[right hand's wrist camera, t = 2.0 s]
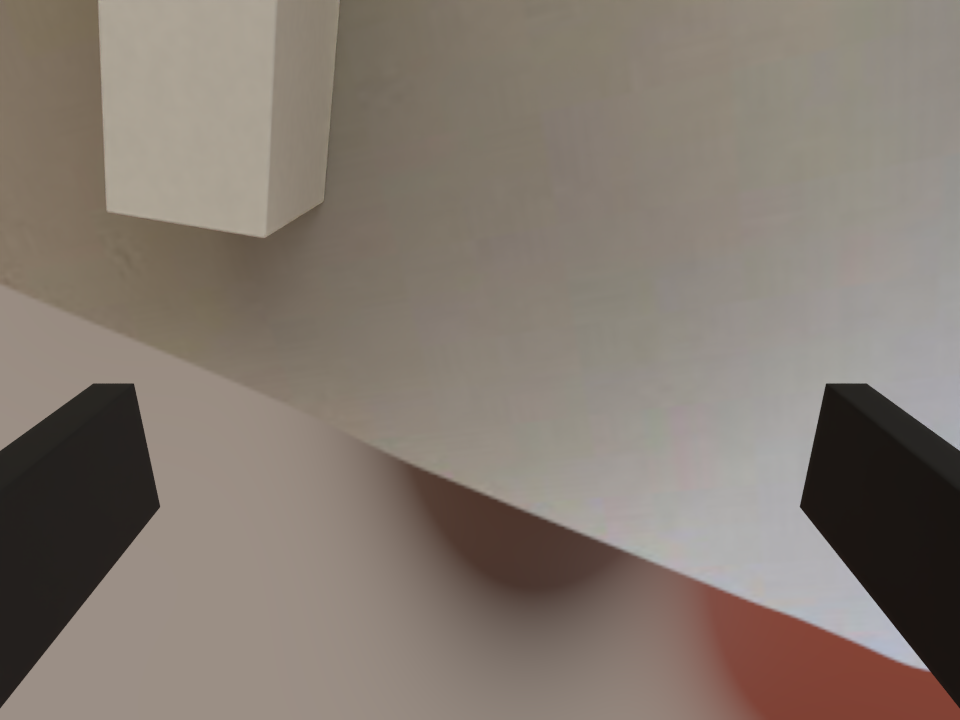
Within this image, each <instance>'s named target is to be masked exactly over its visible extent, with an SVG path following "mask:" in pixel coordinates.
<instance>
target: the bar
mask: <svg viewBox="0 0 960 720" xmlns="http://www.w3.org/2000/svg"><path fill="white" fill-rule="evenodd" d="M339 7H340V0H98V19H99V44H100V69H101V94H102V119H103V144H104V168H105V193H106V211H107V212H109V213H113V214H119V215H125V216H131V217H137V218H143V219H149V220H155V221H161V222H167V223H173V224H179V225H185V226H191V227H197V228H204V229H210V230H216V231H222V232H228V233H234V234H240V235H246V236H252V237H258V238H266V237H268V236H269V235H271V234H272V233H274V232H276V231H277V230H279V229H280V228H282V227H284V226H285V225H287V224H288V223H290V222H292V221H293V220H295V219H297V218H298V217H300V216H301V215H303V214H305V213H306V212H308V211H309V210H311V209H313V208H314V207H316V206H317V205H319V204H321V203H322V202H323V201H324V194H325V181H326V169H327V156H328V144H329V132H330V119H331V107H332V94H333V82H334V69H335V57H336V44H337V32H338V19H339Z"/></svg>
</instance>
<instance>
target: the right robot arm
mask: <svg viewBox="0 0 960 720" xmlns="http://www.w3.org/2000/svg"><path fill="white" fill-rule="evenodd" d="M159 508H160V504H159V500H158V495H157V490H156V485H155V481H154V476H153V471H152V466H151V462H150V457H149V452H148V448H147V443H146V438H145V434H144V429H143V424H142V419H141V415H140V410H139V405H138V401H137V396H136V391H135V387H134V384H92V385H91V386H90V387H88V388H87V389H85V390H84V391H83V392H81V393H80V394H78V395H77V396H76V397H74V398H73V399H72V400H70V401H69V402H67V403H66V404H65V405H63V406H62V407H60V408H59V409H58V410H56V411H55V412H54V413H52V414H51V415H49V416H48V417H47V418H45V419H44V420H42V421H41V422H40V423H38V424H37V425H36V426H34V427H33V428H31V429H30V430H29V431H27V432H26V433H25V434H23V435H22V436H20V437H19V438H18V439H16V440H15V441H13V442H12V443H11V444H9V445H8V446H7V447H5V448H4V449H2V450H1V451H0V708H1V707H2V705H3V704H4V703H5V702H6V700H7V699H8V698H9V697H10V695H11V694H12V693H13V691H14V690H15V689H16V688H17V686H18V685H19V684H20V683H21V681H22V680H23V679H24V678H25V676H26V675H27V674H28V673H29V671H30V670H31V669H32V668H33V666H34V665H35V664H36V663H37V661H38V660H39V659H40V657H41V656H42V655H43V654H44V652H45V651H46V650H47V649H48V647H49V646H50V645H51V644H52V642H53V641H54V640H55V639H56V637H57V636H58V635H59V634H60V632H61V631H62V630H63V629H64V627H65V626H66V625H67V623H68V622H69V621H70V620H71V618H72V617H73V616H74V615H75V613H76V612H77V611H78V610H79V608H80V607H81V606H82V605H83V603H84V602H85V601H86V600H87V598H88V597H89V596H90V595H91V593H92V592H93V591H94V589H95V588H96V587H97V586H98V584H99V583H100V582H101V581H102V579H103V578H104V577H105V576H106V574H107V573H108V572H109V571H110V569H111V568H112V567H113V566H114V564H115V563H116V562H117V561H118V559H119V558H120V557H121V555H122V554H123V553H124V552H125V550H126V549H127V548H128V547H129V545H130V544H131V543H132V542H133V540H134V539H135V538H136V536H137V535H138V534H139V533H140V532H141V530H142V529H143V528H144V526H145V525H146V524H147V523H148V521H149V520H150V519H151V518H152V516H153V515H154V514H155V513H156V511H157V510H158V509H159ZM800 508H801V509H802V510H803V511H804V513H805V514H806V515H807V516H808V518H809V519H810V520H811V521H812V523H813V524H814V525H815V527H816V528H817V529H818V530H819V532H820V533H821V534H822V535H823V537H824V538H825V539H826V540H827V542H828V543H829V544H830V545H831V547H832V548H833V549H834V550H835V552H836V553H837V554H838V555H839V557H840V558H841V559H842V561H843V562H844V563H845V564H846V566H847V567H848V568H849V569H850V571H851V572H852V573H853V574H854V576H855V577H856V578H857V579H858V581H859V582H860V583H861V584H862V586H863V587H864V588H865V589H866V591H867V592H868V593H869V595H870V596H871V597H872V598H873V600H874V601H875V602H876V603H877V605H878V606H879V607H880V608H881V610H882V611H883V612H884V613H885V615H886V616H887V617H888V618H889V620H890V621H891V622H892V623H893V625H894V626H895V627H896V629H897V630H898V631H899V632H900V634H901V635H902V636H903V637H904V639H905V640H906V641H907V642H908V644H909V645H910V646H911V647H912V649H913V650H914V651H915V652H916V654H917V655H918V656H919V657H920V659H921V660H922V661H923V663H924V664H925V665H926V666H927V668H928V669H929V670H930V671H931V673H932V674H933V675H934V676H935V678H936V679H937V680H938V681H939V683H940V684H941V685H942V686H943V688H944V689H945V690H946V691H947V693H948V694H949V695H950V696H951V698H952V699H953V700H954V702H955V703H956V704H957V705H958V707H959V708H960V451H959V450H958V449H956V448H955V447H953V446H952V445H951V444H949V443H948V442H947V441H945V440H944V439H942V438H941V437H940V436H938V435H937V434H935V433H934V432H933V431H931V430H930V429H929V428H927V427H926V426H924V425H923V424H922V423H920V422H919V421H918V420H916V419H915V418H913V417H912V416H911V415H909V414H908V413H906V412H905V411H904V410H902V409H901V408H900V407H898V406H897V405H895V404H894V403H893V402H891V401H890V400H888V399H887V398H886V397H884V396H883V395H882V394H880V393H879V392H877V391H876V390H875V389H873V388H872V387H871V386H869V385H868V384H826V387H825V391H824V396H823V401H822V405H821V410H820V415H819V419H818V424H817V429H816V434H815V438H814V443H813V448H812V452H811V457H810V462H809V466H808V471H807V476H806V481H805V485H804V490H803V495H802V499H801V504H800Z"/></svg>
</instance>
